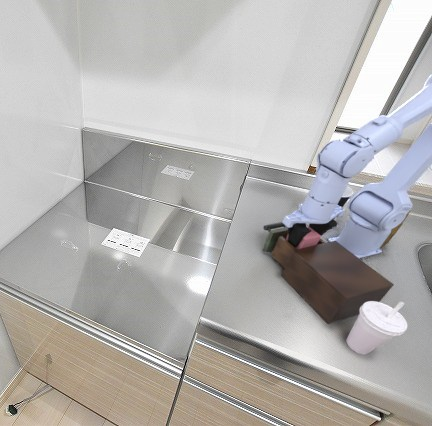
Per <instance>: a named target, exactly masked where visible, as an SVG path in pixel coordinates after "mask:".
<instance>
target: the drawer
mask: <svg viewBox="0 0 432 426" xmlns="http://www.w3.org/2000/svg"><path fill="white" fill-rule="evenodd" d="M282 222H283V221H279V222H278V221H277V222H273V223H269V224H265V225H263V227H262V228H263V230H264V231H267V232H268V234H267V237H266V240H265V241H264V245H263V247H262V252H264V254H267V253H271V252H272V253H271V256H272V258H274V259H275V261H276V262H277V263H278V264H279V265H280V266H282V267H283V268H284V269H285V267H286V265H287V263H288V261H289V259H290V257H291V255H292V252H293V250H297V249H296V248H294V247H293V246H292V245H291V244H290V243H289V242H288V241H287V240H286V238H287V235H288V227H287V226H286V225H284V224H283V223H282ZM322 243H327V241H324V240H323V239H322V238H320V240H319V241H318V243H317V245H318V244H322Z"/></svg>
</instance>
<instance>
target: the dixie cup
mask: <svg viewBox="0 0 432 426" xmlns="http://www.w3.org/2000/svg"><path fill="white" fill-rule="evenodd" d="M354 194H355V191H354V190H353V189H352V188H351V187H349V185H347V187H346V189H345V191H344V193H343V195H342V197H341V198H340V200H339V202H338V204H337V205H339V206H340V207H342V208H343V207H344V206H345V205H346V203H348V202H349V200H350V198H351V197H352V196H353V195H354ZM333 219H334V220H335V218H333Z"/></svg>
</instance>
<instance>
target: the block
mask: <svg viewBox="0 0 432 426" xmlns="http://www.w3.org/2000/svg"><path fill="white" fill-rule="evenodd" d="M306 227H307V228H309V229H310V230H311V232H310V233H308V234H307V235H306V236H305V237H304V238H303V239H302V241H301V242H300V244H299V245H298V246H297V247H296V249H301V248H305V247H310V246H314V245H317V243H318V241H319V240H320V239H322V236H321V235H319V234H318V233H317V232H316V231H314V230H313V229H312V228H310V227H309V225H308V224H306ZM286 240H287V241H288V235H287V238H286Z"/></svg>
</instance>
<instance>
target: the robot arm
mask: <svg viewBox="0 0 432 426" xmlns="http://www.w3.org/2000/svg"><path fill="white" fill-rule="evenodd" d="M431 114H432V73H431V74H430V75H429V77H427V79H426V81H425V83H424V85H423V87H422V89H421V90H420V91H419V92H417V93H416V94H415V95H413V96H412V97H411V98H410V99H408V100H407V101H406V102H404V103H403V104H402V105H400V106H399V107H398V108H397V109H395V110H394V111H393V112H392V113H390V114H389V115H378V116H376V117H374V118H372V119H371V120H370V121H368V122H367V123H365V124H364V125H363V126H361V127H360V128H358V129H356V130H355V131H354V132H352V133H351V134H349V135H347V136H346V137H344V138H343V139H340V138H339V139H335V140H331V141H329V142H327V143H326V144H325V145H324V146H323V147H322V148H321V150H320V151H319V152H318V153H317V154H316V163H317V165H316V167H315V173H316V175H315V177H314V179H313V182H312V184H311V186H310V188H309V191H308V192H307V195H306V196H305V200H304V202H302V203H301V202H300V203H298V208H297V209H296V210H294V211H293V212H292V213H290V214H287V215H284V218H283V219H282V221H281V222H282V223H283V224H284V225H286V226H287V227H288V242H289V243H290V244H291V245H292V246H293V247H294V248H296V247H297V246H298V245H299V244H300V242H301V241H302V239H303V238H304V237H305V236H306V235H307V234H308V233H310V232H311V230H310V229H309V228H307V227H306V225H307V224H309V225H308V226H309V227H310V228H312V229H313V230H314V231H316V232H317V233H318V234H319V235H321V237H323V235H324V234H326V233H328V232H329V231H330V230H332V229H333V228H335V227H337V225H338V222H337V220H335V218H336V217H337V218H341V217H343V216H344V213H345V212H346V208H343V207H340V206H339V205H337V204H338V202H339V200H340V198H341V197H342V195H343V193H344V191H345V189H346V187H347V186H349V183H350V182H351V180H352V178H353V177H355V176H357V175H358V174H360V173H361V172H363V171H364V170H365V168H367V166H368V165H369V163H370V162H372V161H373V160H374V159H375V156H376V155H377V154H379V153H380V152H382V151H383V150H384V149H386V148H388V147H390V146H391V145H392V144H394V143H396V142H397V141H398V140H401V138H402V136H403V134H404V129H406V128H408V127H410V126H411V125H413V124H415V123H418V121H421V120H423V119H424V118H426V117H428V116H430V115H431ZM431 166H432V121H431V122H430V124H429V125H428V126H427V127H426V128H425V130H424V131H423V132H422V133H421V134H420V135H419V137H417V138H416V140H415V141H414V142H413V144H412V145H411V146H410V147H409V148H408V150H407V151H406V152H405V153H404V154H403V155H402V157H401V158H399V160H398V161H397V163H396V164H395V165H394V166H393V167H392V169H390V170H389V172H388V173H387V174H386V175H385V177H384V178H383V179H382V180H381V181H380V182H372V183H366V184H364V185H363V186H362V187H361V189H360V190H358V191H356V192H355V193H354V194H353V195H352V196H351V197H350V198H349V199H348V201H347V210H349V212H348V216H350V217H349V218H348V219H347V221H346V223H345V225H344V227H343V228H342V230H341V232H340V233H339V235H338V236H333V237H330V238H328V239H327V242H331V241H337V242H338V243H339V244H341V245H342V246H343V247H345V248H346V249H347V250H349V251H350V252H351V253H353V254H354V255H355V256H357V257H358V258H359V259H363V258H367V257H370V256H371V257H372V256H374V255H379V254H382V253H383V251H382V249H381V245H382V244H383V243H384V241H385V240H386V238H387V237H388V236H389V234H390V233H391V229H393V228H395V227H396V226H398V225H399V224H400V223H401V222H402V221H403V220H404V219H405V217H406V215H407V213H408V212H409V211H410V212H411V209H412V208H413V207H414V205H413V202H412V200H411V198H410V196H409V194H408V191H409V190H410V189H411V188H412V187H413V186H414V184H415V183H416V182H417V181H418V180H419V179H420V178H421V177H422V176H423V175H424V173H425V172H426V171H427V170H428V169H429V168H430V167H431ZM333 218H334V219H333ZM405 220H406V219H405Z"/></svg>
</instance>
